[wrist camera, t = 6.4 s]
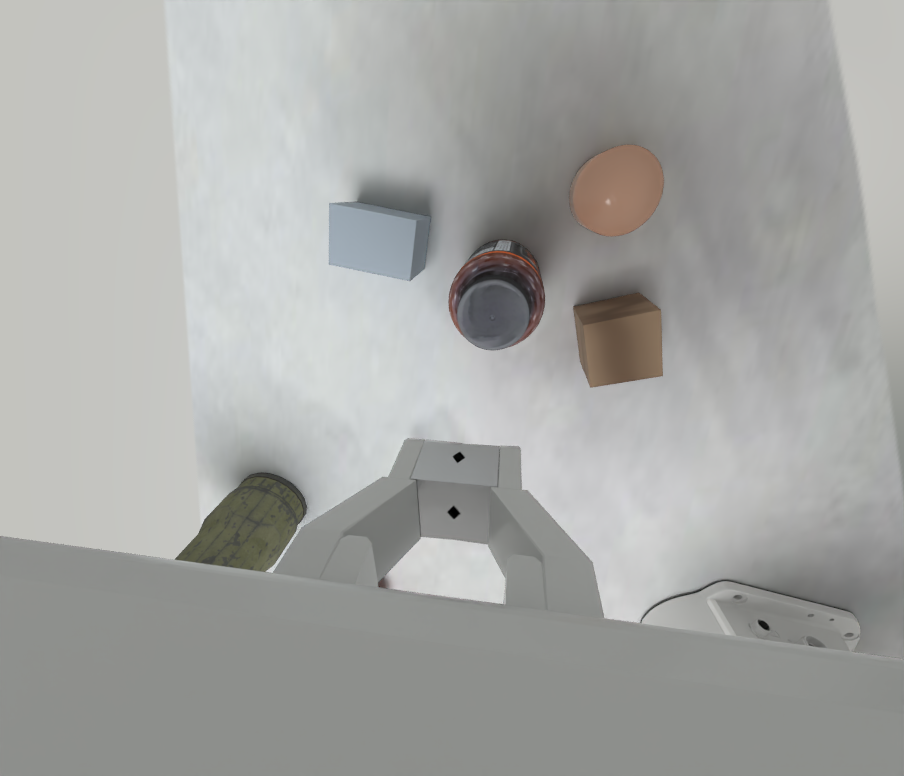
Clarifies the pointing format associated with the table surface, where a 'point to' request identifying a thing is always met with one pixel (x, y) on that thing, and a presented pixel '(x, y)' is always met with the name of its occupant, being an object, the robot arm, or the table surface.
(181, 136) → the table surface
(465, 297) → the supplement bottle
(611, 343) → the walnut cube
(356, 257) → the slate block
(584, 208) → the peach rounded cylinder
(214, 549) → the thermos
